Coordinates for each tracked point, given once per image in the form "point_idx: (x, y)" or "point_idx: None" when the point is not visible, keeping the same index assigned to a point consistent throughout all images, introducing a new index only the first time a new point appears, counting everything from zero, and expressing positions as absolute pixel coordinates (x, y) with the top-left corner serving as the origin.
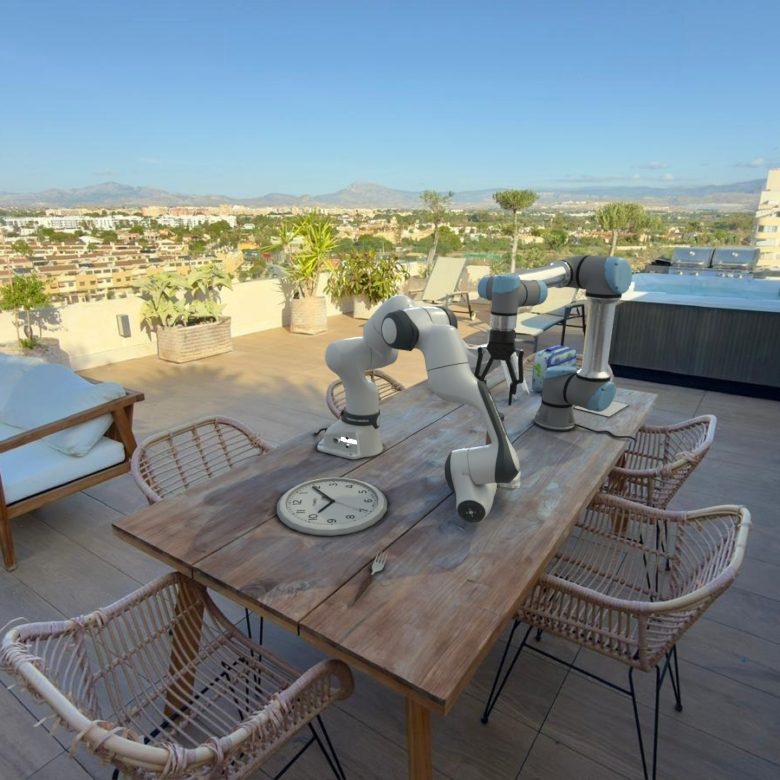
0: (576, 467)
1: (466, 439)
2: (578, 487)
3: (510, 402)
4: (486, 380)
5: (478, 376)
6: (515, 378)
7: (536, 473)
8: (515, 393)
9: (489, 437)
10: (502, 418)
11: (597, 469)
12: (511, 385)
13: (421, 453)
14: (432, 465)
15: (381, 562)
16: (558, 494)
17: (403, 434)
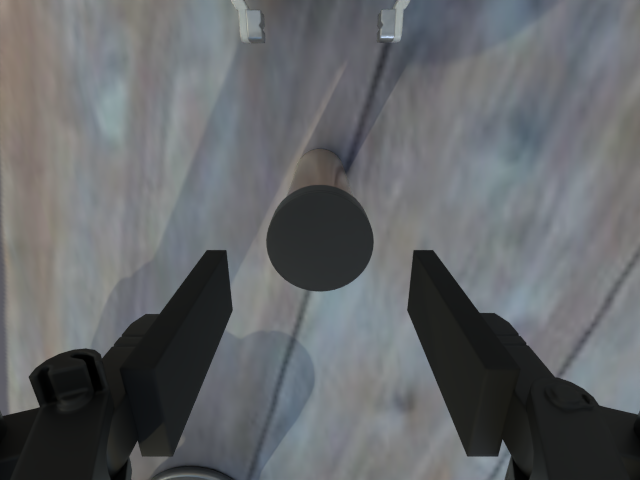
0: (79, 267)
1: (418, 348)
2: (37, 130)
3: (201, 260)
4: (473, 438)
5: (637, 449)
6: (21, 470)
7: (178, 185)
8: (136, 322)
9: (336, 175)
10: (273, 215)
11: (22, 274)
12: (135, 364)
13: (556, 206)
14: (515, 125)
15: None
16: (79, 51)
17: (619, 323)
